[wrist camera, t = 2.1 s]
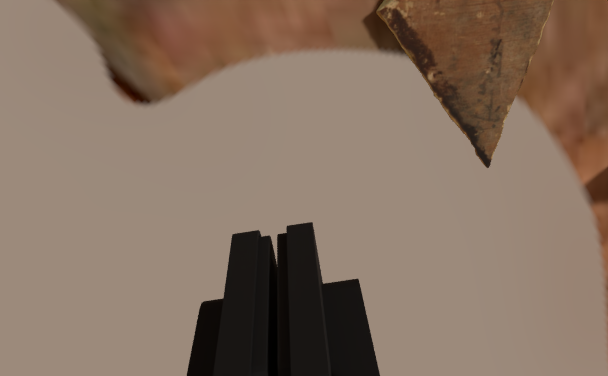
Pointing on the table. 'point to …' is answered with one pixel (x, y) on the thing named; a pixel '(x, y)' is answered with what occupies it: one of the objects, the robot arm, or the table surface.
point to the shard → (470, 56)
